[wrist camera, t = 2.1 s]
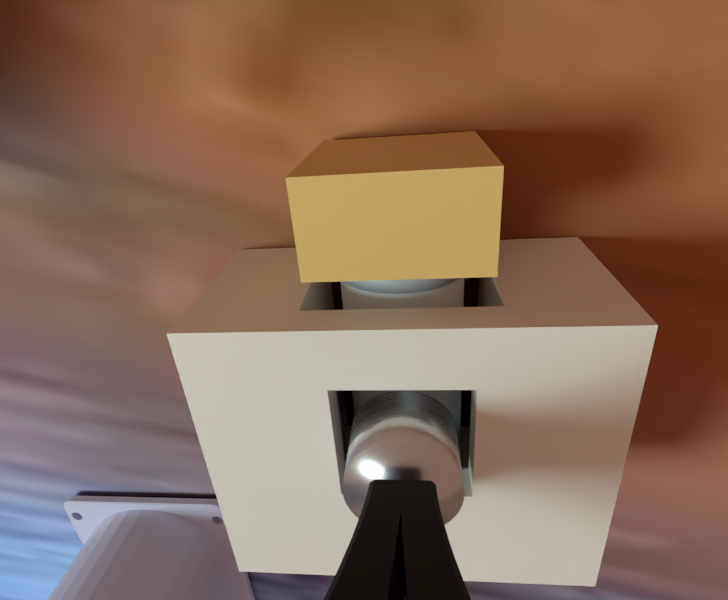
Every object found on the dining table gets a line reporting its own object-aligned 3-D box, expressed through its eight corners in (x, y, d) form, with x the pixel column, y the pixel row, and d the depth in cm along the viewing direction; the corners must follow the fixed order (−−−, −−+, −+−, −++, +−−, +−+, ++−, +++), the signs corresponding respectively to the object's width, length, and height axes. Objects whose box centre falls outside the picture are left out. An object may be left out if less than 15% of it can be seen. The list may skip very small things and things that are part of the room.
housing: (547, 450, 19) (595, 586, 14) (280, 447, 20) (239, 571, 15) (577, 237, 15) (658, 325, 10) (240, 249, 16) (166, 333, 11)
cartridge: (465, 412, 18) (482, 523, 14) (353, 412, 19) (335, 519, 14) (474, 130, 14) (504, 165, 9) (324, 140, 14) (285, 177, 10)
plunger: (456, 471, 13) (463, 536, 11) (356, 469, 13) (347, 532, 12) (457, 390, 12) (466, 449, 10) (347, 390, 12) (336, 448, 10)
